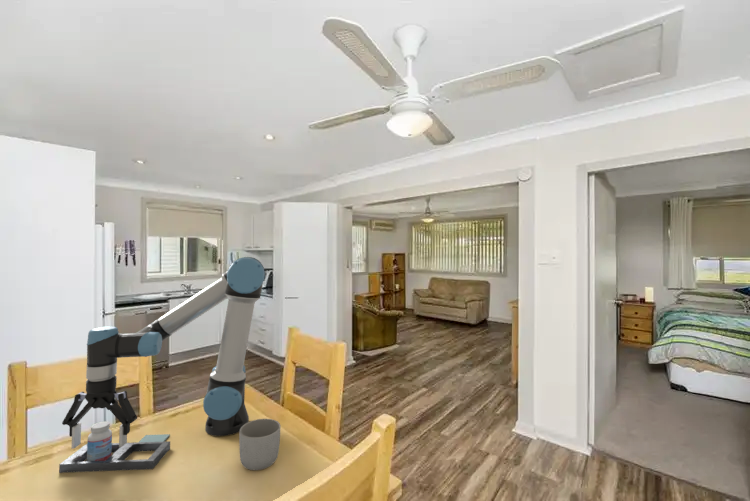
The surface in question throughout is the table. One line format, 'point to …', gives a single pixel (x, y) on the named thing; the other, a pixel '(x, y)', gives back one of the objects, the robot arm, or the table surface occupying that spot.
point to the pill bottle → (99, 442)
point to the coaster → (155, 438)
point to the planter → (259, 443)
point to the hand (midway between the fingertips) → (99, 445)
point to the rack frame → (116, 458)
